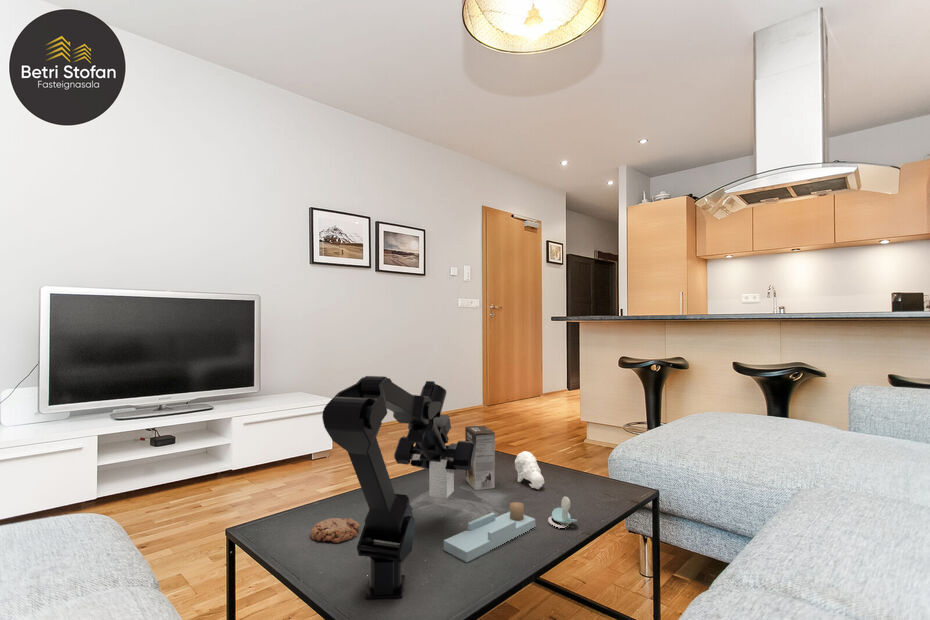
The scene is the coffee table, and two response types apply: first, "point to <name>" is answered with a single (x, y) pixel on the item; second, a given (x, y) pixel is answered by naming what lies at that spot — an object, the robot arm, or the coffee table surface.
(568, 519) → the pacifier
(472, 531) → the blue stand
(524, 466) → the white animal figurine
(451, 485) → the white rectangular block
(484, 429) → the coffee box
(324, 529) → the cookie
